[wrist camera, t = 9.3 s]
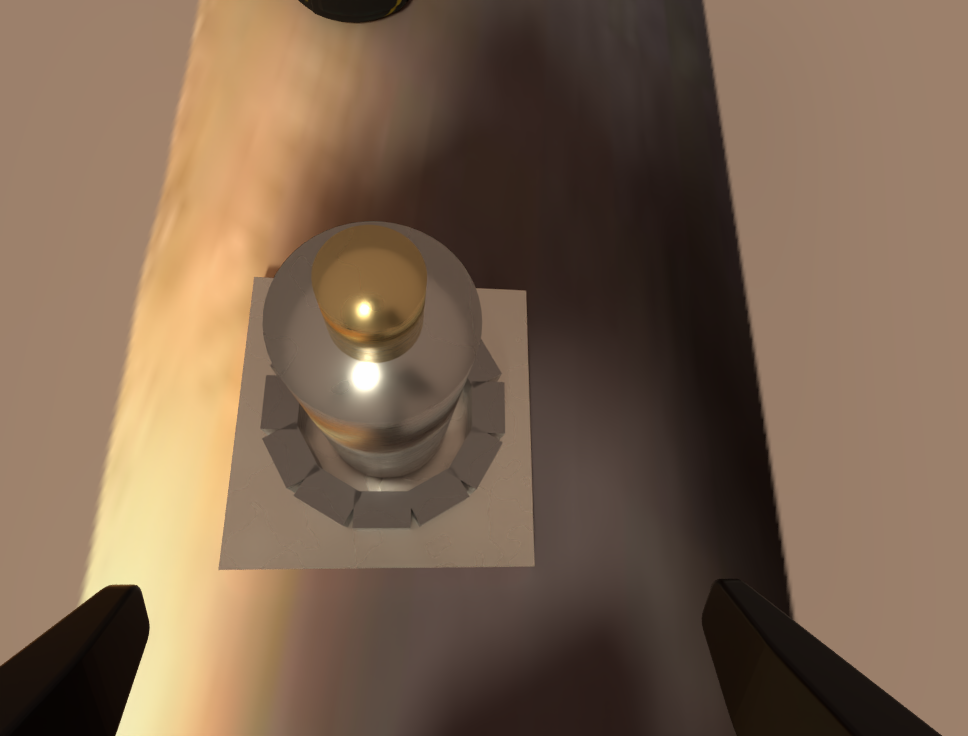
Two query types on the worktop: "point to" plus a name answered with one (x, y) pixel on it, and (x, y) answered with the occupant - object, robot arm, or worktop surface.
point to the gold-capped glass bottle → (375, 340)
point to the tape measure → (353, 9)
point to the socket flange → (386, 501)
